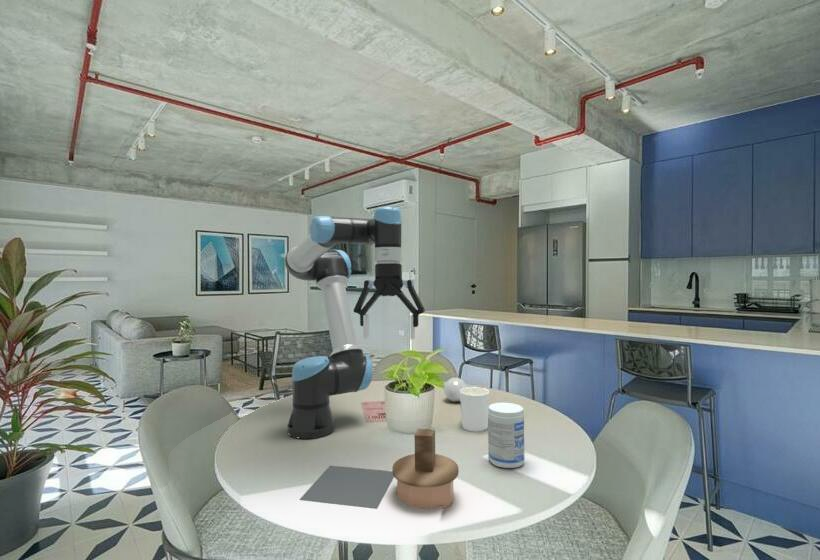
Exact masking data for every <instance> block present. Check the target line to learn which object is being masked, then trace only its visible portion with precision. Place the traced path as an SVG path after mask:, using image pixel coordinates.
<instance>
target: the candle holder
mask: <svg viewBox="0 0 820 560" xmlns="http://www.w3.org/2000/svg"><path fill="white" fill-rule="evenodd" d="M490 395H491V394H490V390H489V389H487V388H484V387H482V388H481V387H479V386H478V387H474V386H469V387H467V388H463V389H461V390H460V402H459V403H460V411H461V412H460V414H461V427H462V429H463V430H465V431H468V432H475V433H476V432H478V433H479V432H484V431H486V430H488V408H489V405H490Z"/></svg>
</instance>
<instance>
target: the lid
mask: <svg viewBox="0 0 820 560" xmlns="http://www.w3.org/2000/svg"><path fill="white" fill-rule="evenodd" d="M391 471H392V472H393V476H394V478H395V479H396V481H397V480H398V481H400V482H402V483H404V484H406V485H410V486H414V487H437V486H442V485H445V484H448V483H450V482H452V481H453V482H454V481H455V480H456V479H457V478H458V475H459V472H460V471H459V465H458V464H457V462H456V461H454V460H453V459H452V458H450V457H448V456H445V455H442V454H439V453H436V429H428V428H417V429H416V431H415V434H414V454H413V453H412V454H409V455H405V456H402V457H400V458H399V459H397V460H396V461H395V462H393V465H392V470H391Z"/></svg>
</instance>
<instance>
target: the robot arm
mask: <svg viewBox="0 0 820 560" xmlns="http://www.w3.org/2000/svg"><path fill="white" fill-rule="evenodd" d="M401 213H402V212H401V210H400V209H399V208H397V207H392V206H383V207H382V206H381V207H377V208H375V209H374V215H373V218H360V217H359V218H357V217H341V216H329V215H317V216H314V217H313V218H311V220H310V224H309V234H308V235H307V236H306V237H305V238H304V239H303V241H301V242H300V243H299V244H298V245H295V246H293V247H292V248H290V250H288V252H286V254H285V257H284V265H285V269H286V270H287V272H288V273H289V274H290V275H291V276H292V277H294V278H295V279H298V280H300V281H315V283H316V287H317V288H318V289H320V290H321V291H322V298H323V303H324V308H325V314H326V320H327V325H328V330H329V336H330V337H329V338H330V342H331V347H332V348H331V349H332V352H331V353H330V355H329V357H328V356H325V355H319V356H316V355H315V356H310V357H306V358H303V359H300V360H298V361H297V362H295V363H294V364H293V366H292V374H291V380H292V410H291V413H290V417H289V420H288V424H287V434H288V433H289V434H290V435H291V436H294V437H299V438H313V439H318V438H317V437H319V438H323V437H325V436H328V435H330V434H332V433H333V432H334V431H335V430H336V421H335V418H334V415H333V411H332V410H331V406H330V397H332V396H336V395H338V396H339V395H343V394H348V393H357V392H360V391H363V390H366V389H368V388H369V386H370V385H371V383H372V380H373V379H372V378H373V373H374V371H373V362H372V359H371V358H370V356H368V355H366V354H365V355H364V351H363V349H362V348H361V347H359V346H358V344H357V343H358V342H357V339H356V336H355V328H354V323H353V318H352V314H351V309H350V304H349V300H348V299H349V298H348V294H347V290H346V285H347V284H348V282H349V279H350V277H351V276H352V275H351V274H352V262H351V259H350V257H349V254H347V253H346V252H345V251H344V250H341V249H334V248H333V247H334V246H336V245H337V244H345V245H346V244H351V245H352V244H353V245H364V246H373V245H374V260H375V264H374V278H375V279H374V280H369V279H368V280H364V282H363V288H362V290H361V293H360V295H359V297H358V299H357V301H356V304H355V305H354V307H353V312H354V313H355V314H359V324H360V327H363V330H362V331H363V339H368V338H369V337H370V315H369V314H368V313H367V312H369V310H370V309H371V308H372V306H374V304H375V303H376V301H377V300H378V299H379V298H380V297H381V296H382V297H388V296H389V297H395V296H397V298H398V299H400V300H401V302H402V303H403V305H404V306H405V307H406V308H407V309H408V310H409V312H410V313H411V314H412V315H409V321H410V323H409V326H410V327H409V333H410V335H409V336H410V338H409V339H410V340H414V339H416V328H418V327H419V316H420V315H421V314H423V313H425V312H426V310H425V306H424V305H423V303H422V301H421V299H420V296H419V295H418V293H417V292H416V289H415V286H414V285H415V284H414V280H413V279H408V280H403V279H402V278H403V277H402V275H403V270H402V269H403V265H402V263H400V262H402V260H403V256H402V255H403V254H402V253H403V252H402V224H403V222H402V214H401ZM403 286H405V288H406V289H407V290H408V292H409V294H410V297H411V298H412V300H413V303H414V304H415V306H416V307H415V306H414V305H413V303H412V302H411V301H410V300H409V298H408V297H407V296H406V295H405V293H404V291H402V288H403ZM373 287H374V288H375V290H376V291H374V293H373V295H371V297H370V298H369V299H368V301H367V302H366V303H365V301H366V299H367V296H368V295H369V292H370V289H372V288H373ZM364 304H365V305H364ZM291 436H290V437H291ZM322 436H323V437H322ZM294 437H293V438H294Z"/></svg>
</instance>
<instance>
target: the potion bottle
mask: <svg viewBox="0 0 820 560" xmlns="http://www.w3.org/2000/svg"><path fill="white" fill-rule="evenodd" d="M444 386H445V389H444V388H443V393H444V395H445V397H446V399H448V400H449V401H451V402H453V403H458V402H459V403H461V402H460V390H461V389H463V388H467V387H470V386H468V385H467V384H466V382H465V380H463V379H462V378H460V377H457V376H456V377H451V378H449V379H448V380H446V381H445V384H444ZM473 387H479V385H478V384H476V385H474V386H473ZM480 388H483V386H482V387H480Z"/></svg>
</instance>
